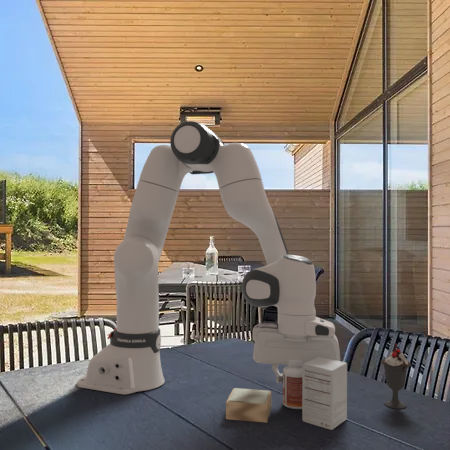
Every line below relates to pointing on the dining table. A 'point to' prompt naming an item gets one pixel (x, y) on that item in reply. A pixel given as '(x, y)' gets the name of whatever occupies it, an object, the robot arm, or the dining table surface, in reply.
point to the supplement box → (324, 392)
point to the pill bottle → (293, 384)
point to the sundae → (395, 376)
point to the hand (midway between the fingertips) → (296, 383)
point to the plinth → (248, 405)
